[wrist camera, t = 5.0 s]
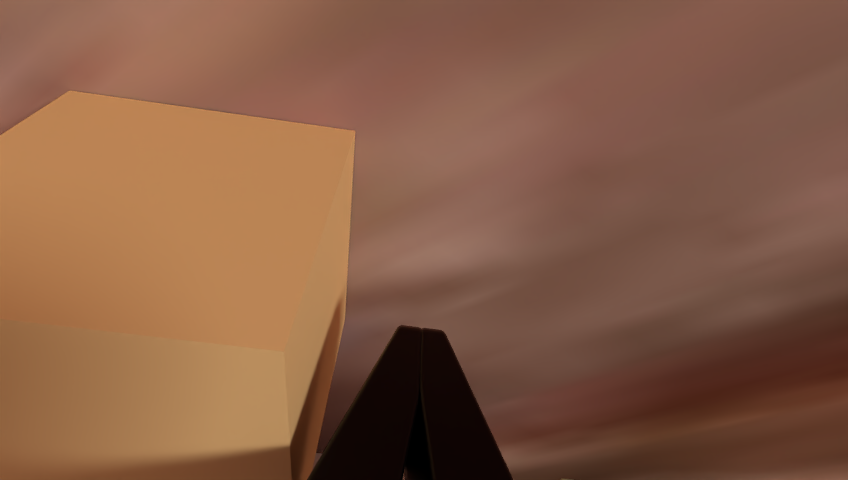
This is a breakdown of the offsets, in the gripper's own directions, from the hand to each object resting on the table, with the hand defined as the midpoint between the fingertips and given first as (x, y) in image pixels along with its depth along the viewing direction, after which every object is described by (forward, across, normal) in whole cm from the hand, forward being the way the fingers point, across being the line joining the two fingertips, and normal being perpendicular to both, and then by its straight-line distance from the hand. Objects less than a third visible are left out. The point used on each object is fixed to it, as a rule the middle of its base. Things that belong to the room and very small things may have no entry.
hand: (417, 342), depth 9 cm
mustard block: (+2, +4, 0) cm, 5 cm away
